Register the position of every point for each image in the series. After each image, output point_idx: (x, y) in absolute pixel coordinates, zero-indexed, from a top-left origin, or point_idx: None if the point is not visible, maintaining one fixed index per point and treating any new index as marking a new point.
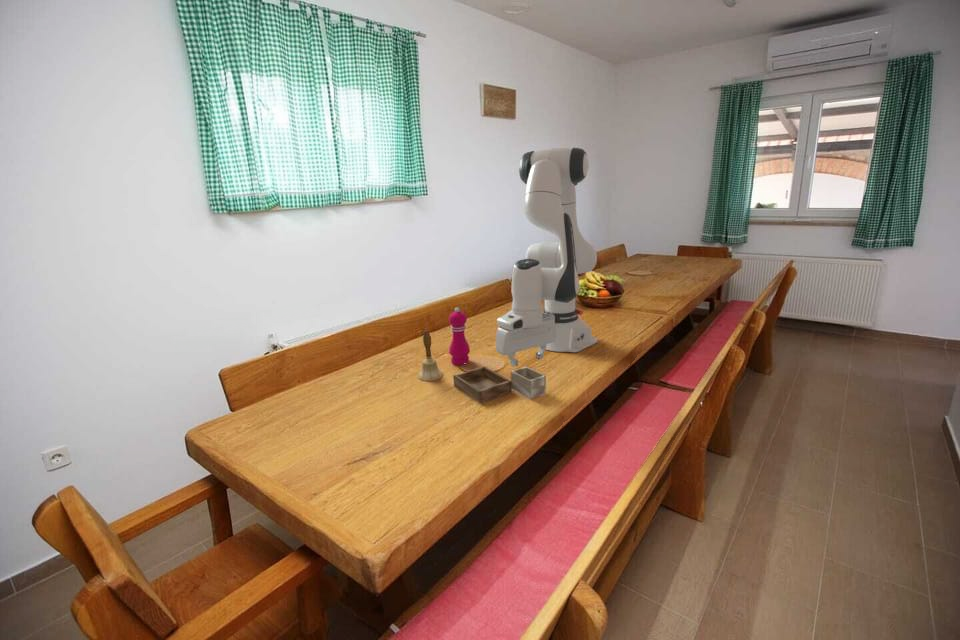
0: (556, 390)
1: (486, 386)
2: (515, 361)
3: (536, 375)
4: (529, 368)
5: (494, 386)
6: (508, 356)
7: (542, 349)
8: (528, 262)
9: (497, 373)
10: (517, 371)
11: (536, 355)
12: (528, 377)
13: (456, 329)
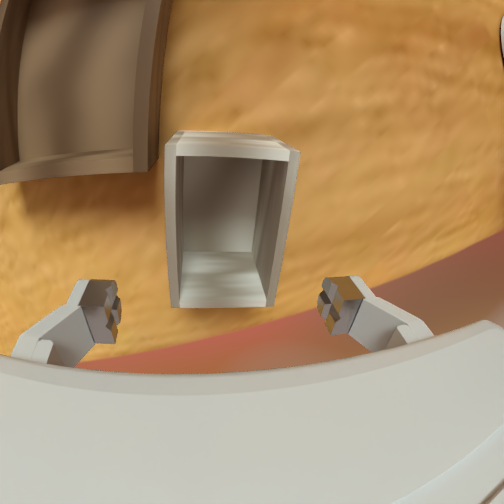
0: (305, 258)
1: (93, 60)
2: (89, 341)
3: (270, 244)
4: (288, 190)
5: (49, 176)
6: (35, 328)
7: (376, 343)
8: None
9: (155, 38)
10: (213, 154)
11: (337, 288)
12: (271, 168)
13: None
